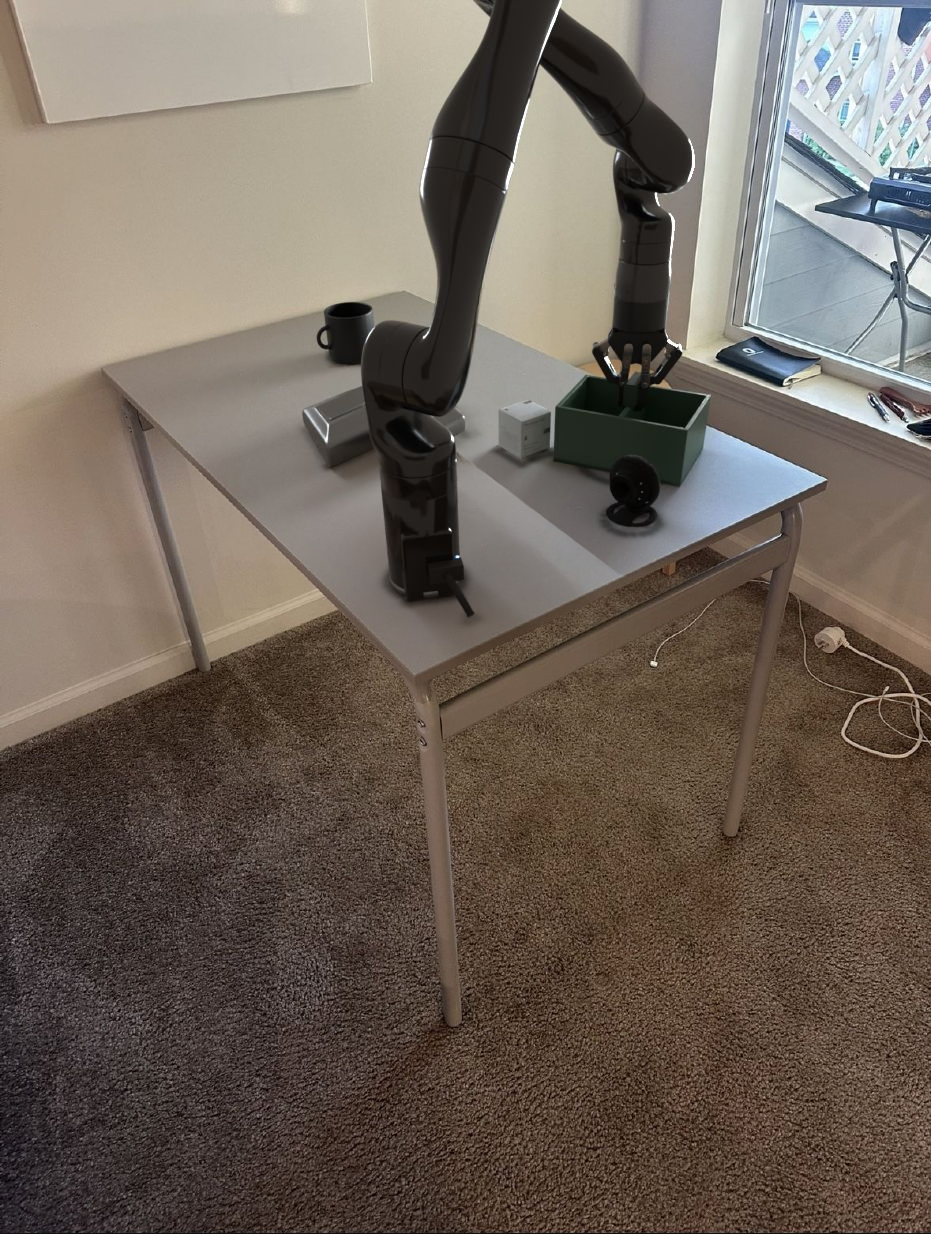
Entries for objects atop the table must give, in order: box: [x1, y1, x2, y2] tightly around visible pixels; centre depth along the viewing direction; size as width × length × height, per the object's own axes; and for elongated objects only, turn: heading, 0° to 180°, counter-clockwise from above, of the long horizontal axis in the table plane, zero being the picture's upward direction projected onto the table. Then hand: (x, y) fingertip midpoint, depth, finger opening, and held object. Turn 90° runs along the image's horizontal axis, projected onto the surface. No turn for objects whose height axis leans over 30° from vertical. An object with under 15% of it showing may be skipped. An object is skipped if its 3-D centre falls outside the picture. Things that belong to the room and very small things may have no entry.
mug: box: [316, 301, 375, 365], centre depth 175 cm, size 9×12×9 cm
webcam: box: [605, 455, 661, 528], centre depth 123 cm, size 8×8×10 cm
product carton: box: [497, 399, 552, 459], centre depth 141 cm, size 6×6×7 cm
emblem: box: [301, 385, 466, 468], centre depth 149 cm, size 28×5×28 cm
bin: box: [552, 371, 712, 487], centre depth 136 cm, size 20×13×12 cm, turn 64°
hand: (631, 408), depth 134 cm, fingers closed, pressing on bin
